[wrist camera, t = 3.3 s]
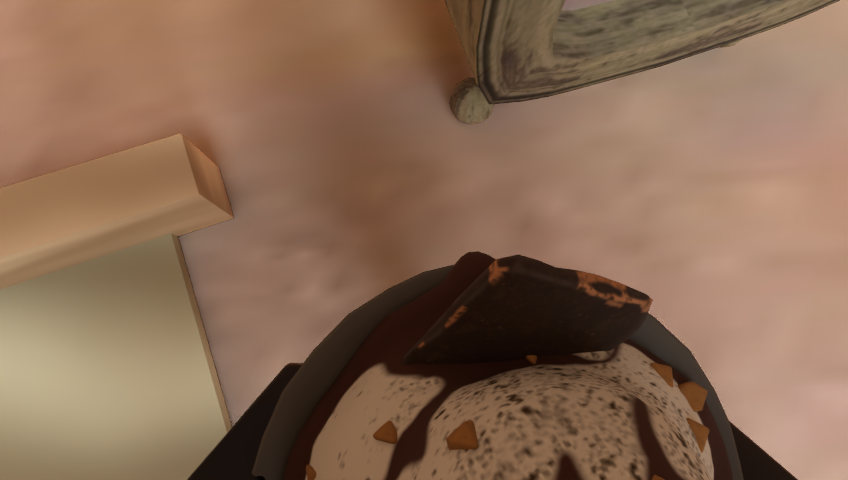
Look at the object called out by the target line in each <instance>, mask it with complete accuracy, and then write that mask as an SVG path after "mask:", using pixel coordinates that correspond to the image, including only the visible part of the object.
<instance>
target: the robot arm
mask: <svg viewBox="0 0 848 480" xmlns="http://www.w3.org/2000/svg"><path fill="white" fill-rule="evenodd" d="M302 365H303V363H289V364H287V365H286V366H285V367H284V368H283V369H282V370H281V371H280V373H279V374H278V375H277V376H276V377H275V378H274V380H273V381H272V382H271V383H270V384H269V385H268V386H267V388H266V389H265V390H264V391H263V392H262V393H261V395H260V396H259V397H258V398H257V399H256V400H255V401H254V403H253V404H252V405H251V406H250V407H249V408H248V410H247V411H246V412H245V413H244V414H243V415H242V416H241V418H240V419H239V420H238V421H237V422H236V423H235V425H234V426H233V427H232V428H231V429H230V430H229V431H228V433H227V434H226V435H225V436H224V437H223V438H222V440H221V441H220V442H219V443H218V444H217V445H216V446H215V448H214V449H213V450H212V451H211V452H210V453H209V455H208V456H207V457H206V458H205V459H204V460H203V461H202V463H201V464H200V465H199V466H198V467H197V468H196V470H195V471H194V472H193V473H192V474H191V475H190V476H189V478H188V479H187V480H265V478H264V477H263V476H255V477H254V475H253V474H252V470H253V467H254V463H255V460H256V457H257V453H258V450H259V447H260V443H261V440H262V437H263V435H264V432H265V430H266V428H267V425H268V423H269V421H270V419H271V416H272V414H273V412H274V409H275V407H276V405H277V403H278V400H279V398H280V396H281V393H282V391H283V390H284V388H285V387H286V386H287V384H288V383H289V382H290V380H291V379H292V378H293V376H294V375H295V374H296V372H297V371H298V370H299V368H300V367H301V366H302ZM729 423H730V425H731V429H732V433H733V436H734V440H735V444H736V448H737V452H738V456H739V460H740V464H741V469H742V474H743V479H744V480H798V479H796V478H795V477H794V476H793V475H792V474H791V473H789V472H788V471H787V470H786V469H785V468H784V467H782V466H781V465H780V464H779V463H778V462H777V461H775V460H774V459H773V458H772V457H771V456H770V455H768V454H767V453H766V452H765V451H764V450H763V449H761V448H760V447H759V446H758V445H757V444H756V443H754V442H753V441H752V440H751V439H750V438H749V437H747V436H746V435H745V434H744V433H743V432H742V431H740V430H739V429H738V428H737V427H736V426H735V425H733V424H732V423H731V422H730V421H729Z"/></svg>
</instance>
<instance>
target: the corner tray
mask: <svg viewBox="0 0 848 480" xmlns="http://www.w3.org/2000/svg"><path fill="white" fill-rule="evenodd" d="M232 218H234V216H233V213H232V210H231V206H230V203H229V200H228V197H227V193H226V190H225V187H224V183H223V180H222V177H221V174H220V170H219V167H218V166H217V165H216V164H214V163H213V162H212V161H211V160H210V159H209V158H208V157H207V156H206V155H205V154H203V153H202V152H201V151H200V150H199V149H198V148H197V147H196V146H195V145H194V144H192V143H191V142H190V141H189V140H188V139H187V138H186V137H185V136H184V135H183V134H181V133H179V134H176V135H173V136H169V137H166V138H163V139H160V140H156V141H153V142H150V143H146V144H143V145H140V146H137V147H133V148H130V149H127V150H123V151H120V152H117V153H114V154H110V155H107V156H104V157H100V158H97V159H94V160H91V161H87V162H84V163H81V164H77V165H74V166H71V167H68V168H64V169H61V170H58V171H54V172H51V173H48V174H45V175H41V176H38V177H35V178H31V179H28V180H25V181H22V182H18V183H15V184H12V185H8V186H5V187H2V188H0V480H187V479H188V478H189V476H190V475H191V474H192V473H193V472H194V471H195V470H196V468H197V467H198V466H199V465H200V464H201V463H202V461H203V460H204V459H205V458H206V457H207V456H208V455H209V453H210V452H211V451H212V450H213V449H214V448H215V446H216V445H217V444H218V443H219V442H220V441H221V440H222V438H223V437H224V436H225V435H226V434H227V433H228V431H229V430H230V429H231V428H232V426H231V422H230V419H229V415H228V412H227V408H226V404H225V401H224V397H223V394H222V390H221V387H220V383H219V380H218V376H217V373H216V369H215V366H214V362H213V359H212V355H211V352H210V348H209V345H208V341H207V337H206V334H205V330H204V327H203V323H202V320H201V316H200V313H199V309H198V306H197V302H196V299H195V295H194V292H193V288H192V285H191V281H190V278H189V274H188V270H187V267H186V263H185V260H184V256H183V253H182V249H181V246H180V242H179V239H178V236H181V235H184V234H187V233H190V232H193V231H196V230H199V229H202V228H205V227H208V226H211V225H214V224H217V223H220V222H223V221H226V220H229V219H232Z"/></svg>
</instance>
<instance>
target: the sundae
mask: <svg viewBox="0 0 848 480" xmlns="http://www.w3.org/2000/svg"><path fill="white" fill-rule="evenodd" d="M652 301H653V300H652V299H651V298H650V297H649V296H648V295H646V294H644V293H642V292H639V291H637V290H635V289H632V288H630V287H628V286H625V285H623V284H621V283H618V282H615V281H612V280H610V279H607V278H604V277H601V276H599V275H595V274H590V273H586V272H582V271H577V270H570V269H563V268H555V267H553V266H550V265H548V264H546V263H543V262H541V261H538V260H535V259H531V258H528V257H525V256H521V255H514V256H509V257H505V258H500V259H494V258H492V257H491V256H489V255H487V254H484V253H481V252H468V253H467V254H465V255H464V256H462V257H461V258H460V259H459V260H458V261H457V262H456V264H455V265H451V266H447V267H443V268H439V269H434V270H430V271H426V272H423V273H421V274H418V275H416V276H414V277H412V278H410V279H408V280H406V281H404V282H402V283H400V284H397V285H395V286H393V287H391V288H389V289H388V290H386V291H384V292H383V293H381V294H380V295H378V296H376V297H375V298H373V299H372V300H370V301H368V302H367V303H365V304H364V305H362V306H360V307H359V308H357V309H356V310H354V311H353V312H351V313H349V314H348V315H347V316H346V317H345V318H344V319H343V320H342V321H341V322H340V323H339V324H338V325H337V326H336V327H335V328H334V330H333V331H332V332H331V333H330V334H329V335H328V336H327V337H326V338H325V339H324V340H323V341H322V342H321V343H320V344H319V345H318V346H317V347H316V348H315V349H314V350H313V351H312V353H311V354H310V355H309V357H308V358H307V359H306V361H305V362H304V363H303V365H302V366H301V367H300V368H299V370H298V371H297V372H296V374H295V375H294V376H293V378H292V379H291V380H290V382H289V383H288V384H287V386H286V387H285V388H284V390H283V391H282V393H281V396H280V398H279V400H278V403H277V405H276V407H275V409H274V412H273V414H272V416H271V419H270V421H269V423H268V425H267V428H266V430H265V432H264V435H263V437H262V440H261V443H260V447H259V450H258V453H257V457H256V460H255V463H254V467H253V470H252V474H253V475H254V477H255V476H263V477H264V478H265V480H744V479H743V474H742V469H741V464H740V460H739V456H738V452H737V448H736V444H735V440H734V436H733V433H732V429H731V425H730V423H729V420H728V418H727V416H726V414H725V412H724V409H723V407H722V405H721V403H720V401H719V398H718V396H717V394H716V392H715V390H714V388H713V387H712V385H711V383H710V382H709V380H708V379H707V377H706V375H705V374H704V372H703V371H702V369H701V367H700V366H699V364H698V363H697V361H696V359H695V358H694V356H693V355H692V353H691V352H690V350H689V349H688V348H687V347H686V346H685V345H683V344H682V343H681V342H680V341H679V340H678V339H677V338H676V337H675V336H674V335H673V334H672V333H671V332H670V331H668V330H667V329H666V328H665V327H664V326H663V325H662V324H661V323H660V322H659V321H658V320H657V319H656V318H654V317H653V316H652V315H650V314H649V313H648V311H649V307H650V304H651V303H652Z"/></svg>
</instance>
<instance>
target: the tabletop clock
mask: <svg viewBox="0 0 848 480" xmlns="http://www.w3.org/2000/svg"><path fill="white" fill-rule="evenodd" d="M444 1H445V3H446V6H447V8H448V11H449V13H450V16H451V18H452V21H453V24H454V26H455V29H456V31H457V34H458V36H459V39H460V41H461V44H462V46H463V49H464V51H465V54H466V57H467V59H468V62H469V64H470V67H471V69H472V72H473V74H474V77H475V78H467V79H465V80H463V81H462V82H460V83H458V84H457V85H456V86H455V88H454V90H453V93H452V95H451V98H450V106H451V109H452V111H453V113H454V114H455V116H456V118H457V119H458V120H460V121H462V122H465V123H467V124H477V123H480V122H482V121H483V120H485V119H486V118H488V117H489V115H490V114H491V111H492V108H493V105H494V104H498V103H509V102H520V101H527V100H532V99H538V98H543V97H548V96H552V95H556V94H560V93H564V92H568V91H572V90H576V89H579V88H583V87H587V86H590V85H594V84H598V83H601V82H605V81H609V80H612V79H616V78H620V77H623V76H627V75H631V74H634V73H638V72H642V71H645V70H649V69H653V68H656V67H660V66H663V65H666V64H669V63H672V62H675V61H678V60H681V59H684V58H687V57H690V56H693V55H696V54H699V53H702V52H705V51H708V50H711V49H714V48H717V47H729V46H733V45H735V44H736V43H738V42H739V41H740V40H742V39H743V38H746V37H749V36H752V35H755V34H758V33H761V32H764V31H767V30H770V29H772V28H775V27H778V26H780V25H783V24H786V23H788V22H791V21H793V20H796V19H798V18H801V17H803V16H806V15H808V14H810V13H812V12H815V11H817V10H819V9H821V8H824V7H826V6H828V5H830V4H833V3H835V2H837V1H839V0H444Z"/></svg>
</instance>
